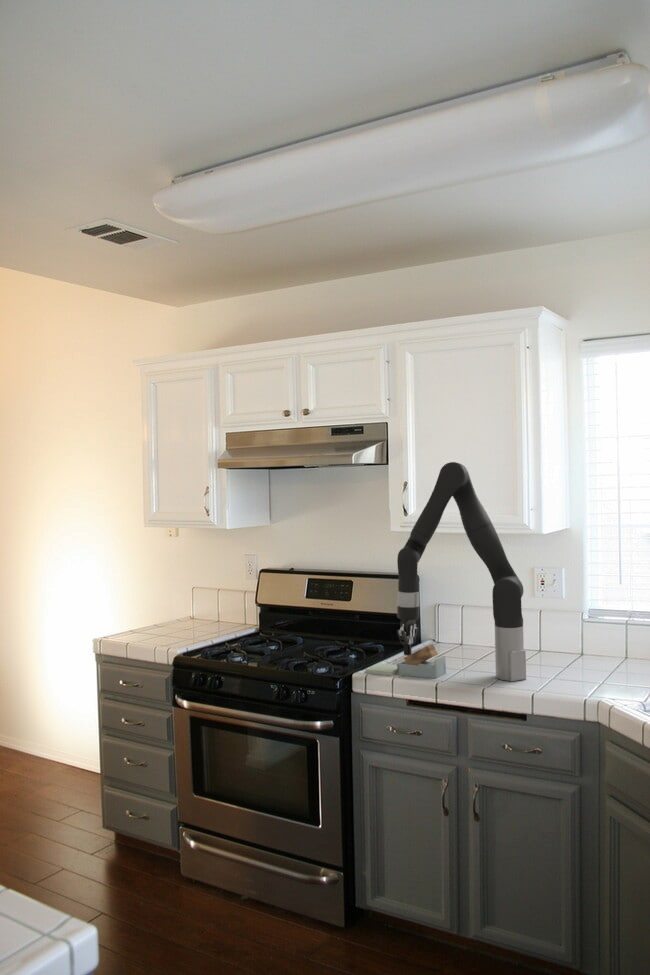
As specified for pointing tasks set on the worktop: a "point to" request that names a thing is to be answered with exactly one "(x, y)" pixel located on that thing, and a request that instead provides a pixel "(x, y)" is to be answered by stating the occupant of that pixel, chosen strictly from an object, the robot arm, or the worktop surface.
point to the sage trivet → (382, 669)
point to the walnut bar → (421, 655)
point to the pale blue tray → (423, 668)
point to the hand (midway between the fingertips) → (407, 654)
